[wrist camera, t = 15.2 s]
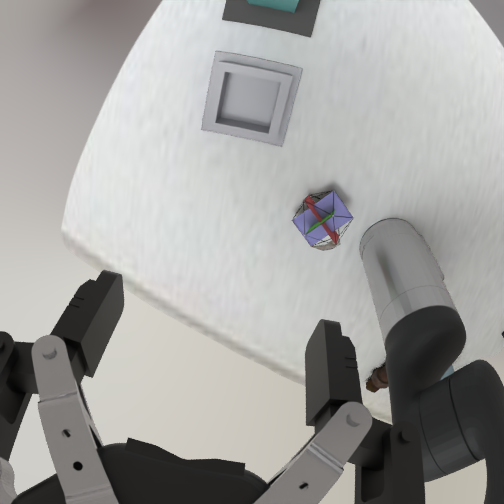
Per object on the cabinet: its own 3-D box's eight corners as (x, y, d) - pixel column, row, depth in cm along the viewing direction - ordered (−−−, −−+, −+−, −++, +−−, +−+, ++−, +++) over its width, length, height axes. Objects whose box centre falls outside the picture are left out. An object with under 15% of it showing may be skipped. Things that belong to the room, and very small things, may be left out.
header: (302, 68, 32) (304, 70, 30) (281, 145, 38) (281, 154, 35) (216, 51, 32) (209, 51, 29) (202, 128, 38) (195, 136, 35)
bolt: (366, 373, 68) (404, 335, 59) (382, 384, 66) (422, 348, 57) (357, 390, 63) (397, 353, 54) (374, 402, 62) (417, 367, 53)
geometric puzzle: (274, 201, 40) (300, 256, 37) (317, 169, 37) (349, 223, 34) (301, 215, 46) (325, 263, 43) (340, 188, 43) (368, 236, 40)
